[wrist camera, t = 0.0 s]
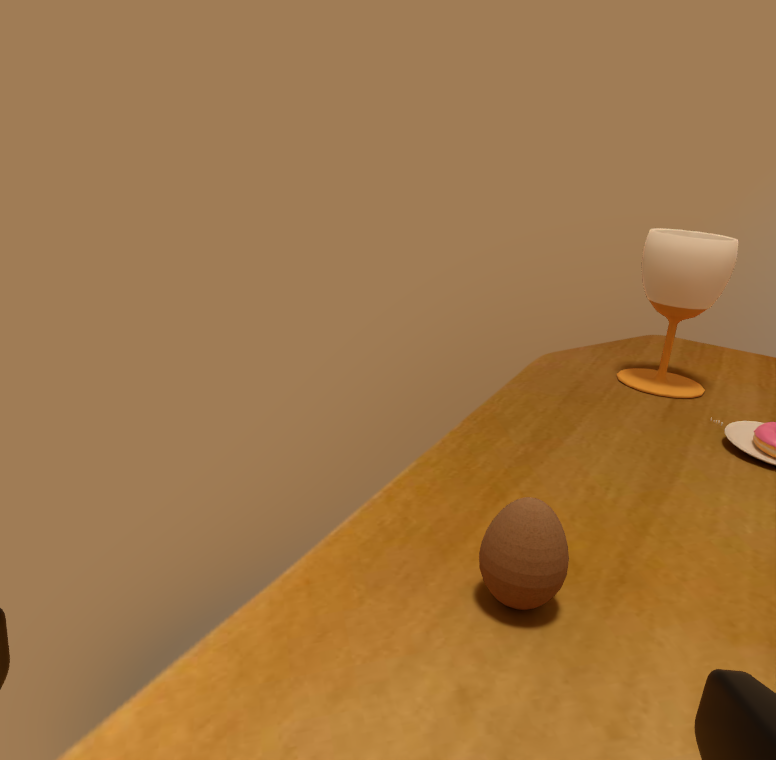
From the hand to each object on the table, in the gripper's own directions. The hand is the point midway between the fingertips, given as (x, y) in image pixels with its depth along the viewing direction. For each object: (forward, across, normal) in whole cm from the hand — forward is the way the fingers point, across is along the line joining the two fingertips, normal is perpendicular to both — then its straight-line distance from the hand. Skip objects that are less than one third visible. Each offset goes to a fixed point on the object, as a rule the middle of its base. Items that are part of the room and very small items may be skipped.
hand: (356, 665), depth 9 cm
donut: (+49, -33, +16) cm, 61 cm away
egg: (+24, -8, +16) cm, 30 cm away
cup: (+65, -30, +16) cm, 73 cm away
